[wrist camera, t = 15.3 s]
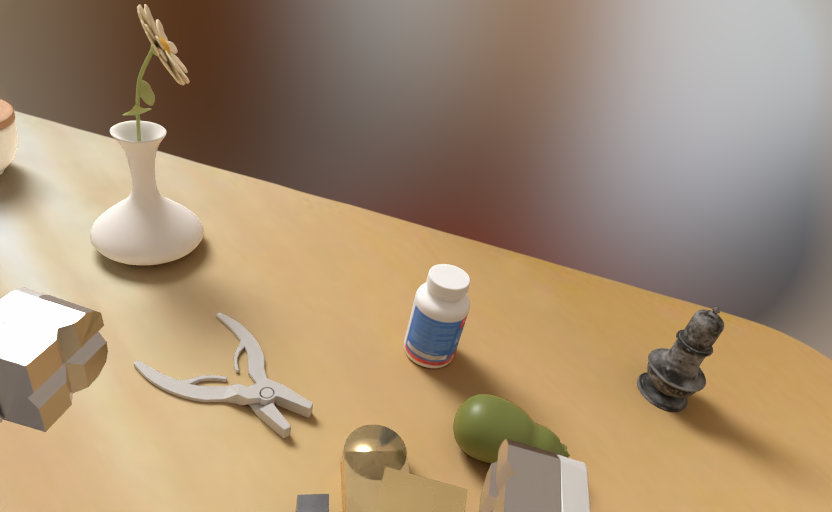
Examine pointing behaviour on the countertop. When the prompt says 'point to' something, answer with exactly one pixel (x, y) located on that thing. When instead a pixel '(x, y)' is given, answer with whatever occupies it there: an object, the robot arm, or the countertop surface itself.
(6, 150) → the lidded jar
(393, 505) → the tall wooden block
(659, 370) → the salt shaker
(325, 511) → the grey metal bars
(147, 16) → the flower in vase
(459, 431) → the pear
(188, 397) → the pliers
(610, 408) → the countertop surface
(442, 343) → the pill bottle
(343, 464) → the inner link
